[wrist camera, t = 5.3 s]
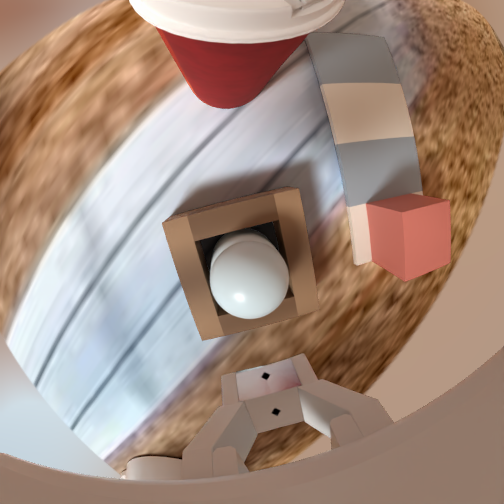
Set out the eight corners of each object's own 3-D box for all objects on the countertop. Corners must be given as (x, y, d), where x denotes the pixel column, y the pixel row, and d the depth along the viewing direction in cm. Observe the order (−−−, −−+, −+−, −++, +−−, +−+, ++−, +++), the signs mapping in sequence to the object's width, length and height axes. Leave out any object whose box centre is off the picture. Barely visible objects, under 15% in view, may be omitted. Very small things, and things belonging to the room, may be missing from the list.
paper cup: (297, 82, 18) (399, -16, 4) (222, 143, 19) (229, 72, 5) (230, 21, 16) (247, -107, 2) (154, 77, 16) (77, -33, 3)
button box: (308, 293, 23) (319, 309, 20) (203, 320, 22) (202, 340, 19) (287, 186, 20) (298, 188, 17) (170, 216, 20) (161, 223, 17)
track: (422, 241, 23) (425, 242, 22) (353, 263, 22) (357, 265, 22) (380, 39, 17) (384, 37, 16) (303, 35, 17) (305, 32, 16)
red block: (414, 246, 22) (450, 262, 17) (371, 260, 22) (405, 281, 17) (411, 193, 21) (449, 200, 16) (365, 203, 20) (401, 212, 16)
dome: (281, 280, 21) (304, 320, 15) (221, 296, 21) (222, 342, 15) (268, 221, 20) (289, 241, 14) (203, 237, 20) (196, 265, 14)
